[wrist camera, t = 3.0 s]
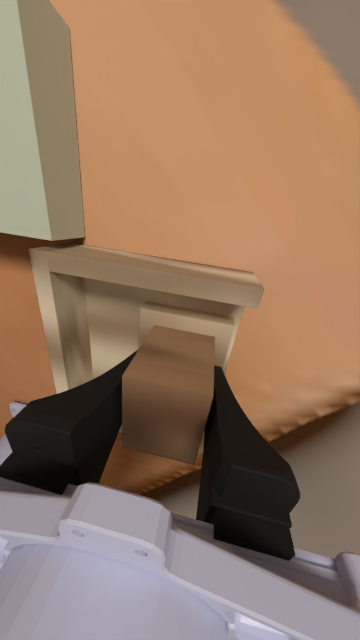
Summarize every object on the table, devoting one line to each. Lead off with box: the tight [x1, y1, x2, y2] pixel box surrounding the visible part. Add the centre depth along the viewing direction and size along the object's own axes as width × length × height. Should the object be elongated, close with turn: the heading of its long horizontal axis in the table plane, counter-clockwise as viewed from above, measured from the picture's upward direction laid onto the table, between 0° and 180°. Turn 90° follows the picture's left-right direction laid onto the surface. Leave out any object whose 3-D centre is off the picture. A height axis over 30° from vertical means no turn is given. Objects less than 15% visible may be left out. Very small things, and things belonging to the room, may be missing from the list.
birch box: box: [29, 243, 264, 453], centre depth 14 cm, size 13×12×4 cm
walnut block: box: [122, 325, 215, 465], centre depth 12 cm, size 5×4×5 cm
